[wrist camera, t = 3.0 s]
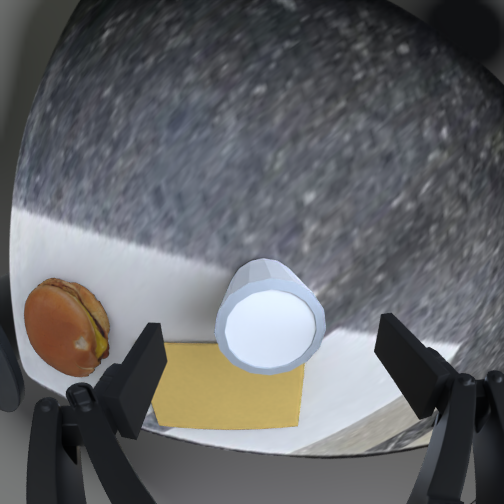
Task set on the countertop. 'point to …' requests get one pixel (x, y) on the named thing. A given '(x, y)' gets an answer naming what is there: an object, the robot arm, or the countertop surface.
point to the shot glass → (268, 319)
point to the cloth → (223, 392)
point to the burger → (67, 327)
